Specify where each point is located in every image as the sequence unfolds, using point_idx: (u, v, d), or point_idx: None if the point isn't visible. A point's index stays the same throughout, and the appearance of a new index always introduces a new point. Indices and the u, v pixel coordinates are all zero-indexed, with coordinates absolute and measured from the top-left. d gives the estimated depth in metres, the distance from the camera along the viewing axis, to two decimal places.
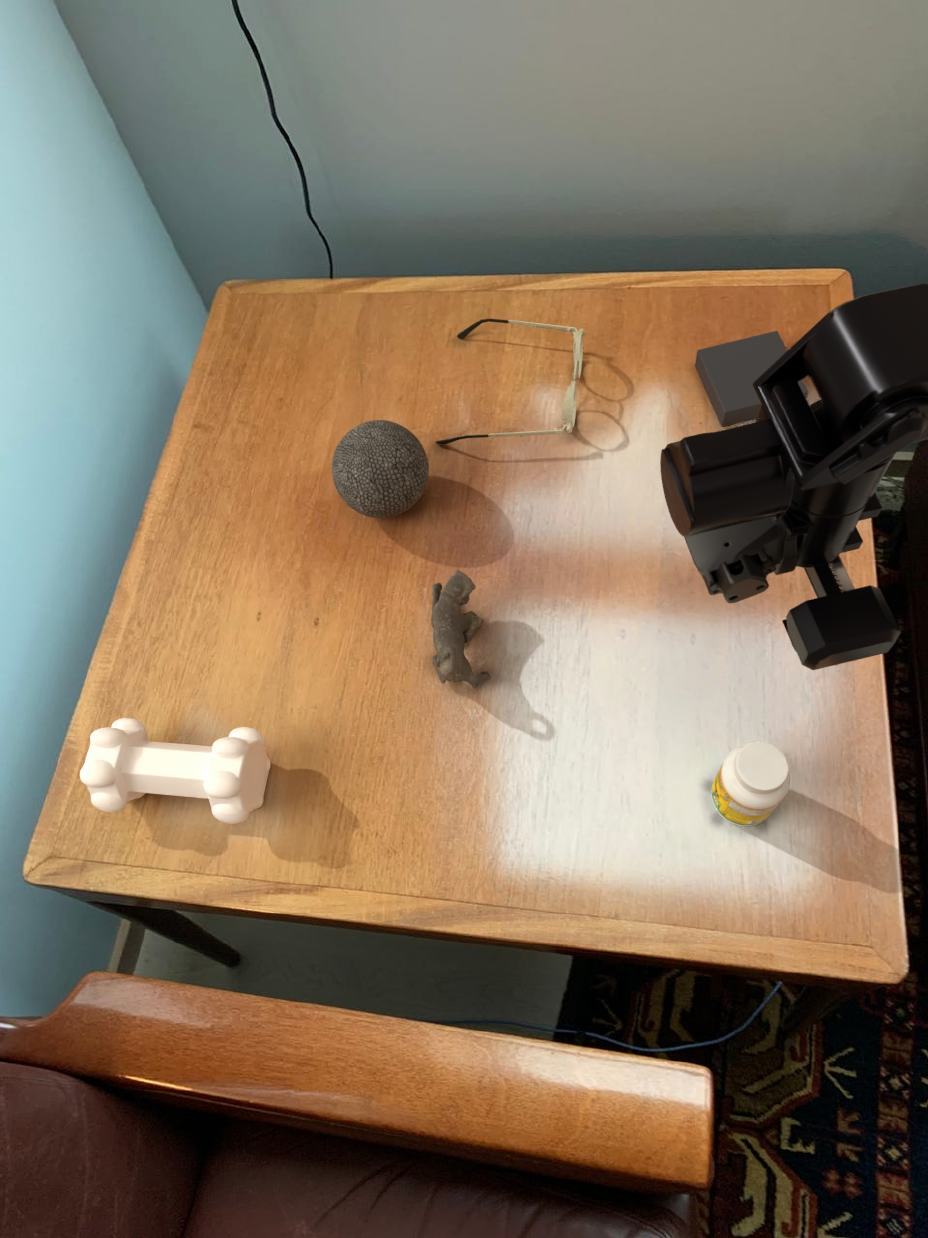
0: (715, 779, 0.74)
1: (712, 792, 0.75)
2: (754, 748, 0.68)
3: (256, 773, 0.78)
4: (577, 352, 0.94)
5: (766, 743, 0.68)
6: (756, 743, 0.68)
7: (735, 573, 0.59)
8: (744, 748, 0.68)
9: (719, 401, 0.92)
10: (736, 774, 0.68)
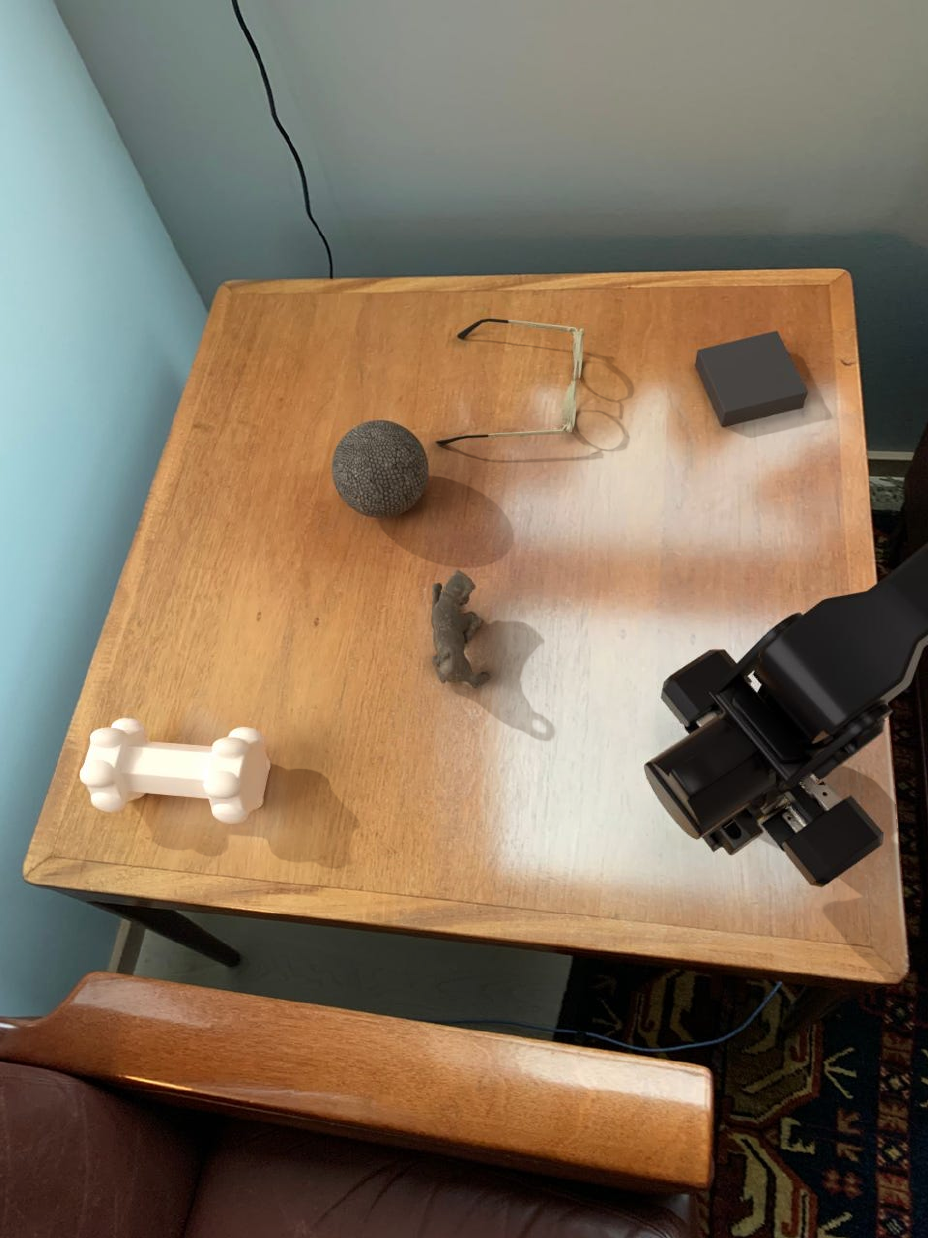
0: None
1: None
2: None
3: (256, 773, 0.78)
4: (577, 352, 0.94)
5: None
6: None
7: (727, 822, 0.63)
8: None
9: (719, 401, 0.92)
10: None
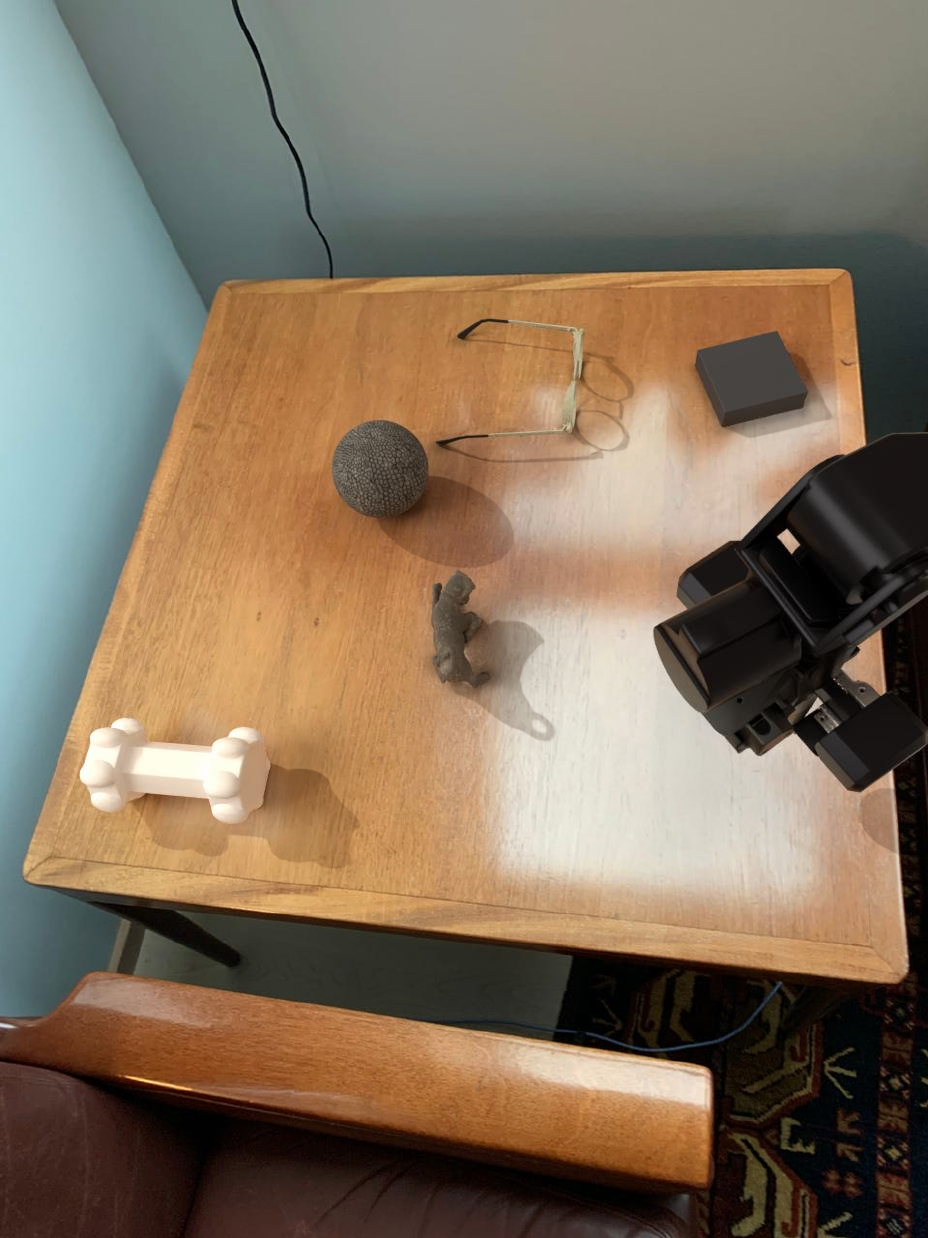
0: None
1: None
2: None
3: (256, 773, 0.78)
4: (577, 352, 0.94)
5: None
6: None
7: (753, 722, 0.56)
8: None
9: (719, 401, 0.92)
10: None
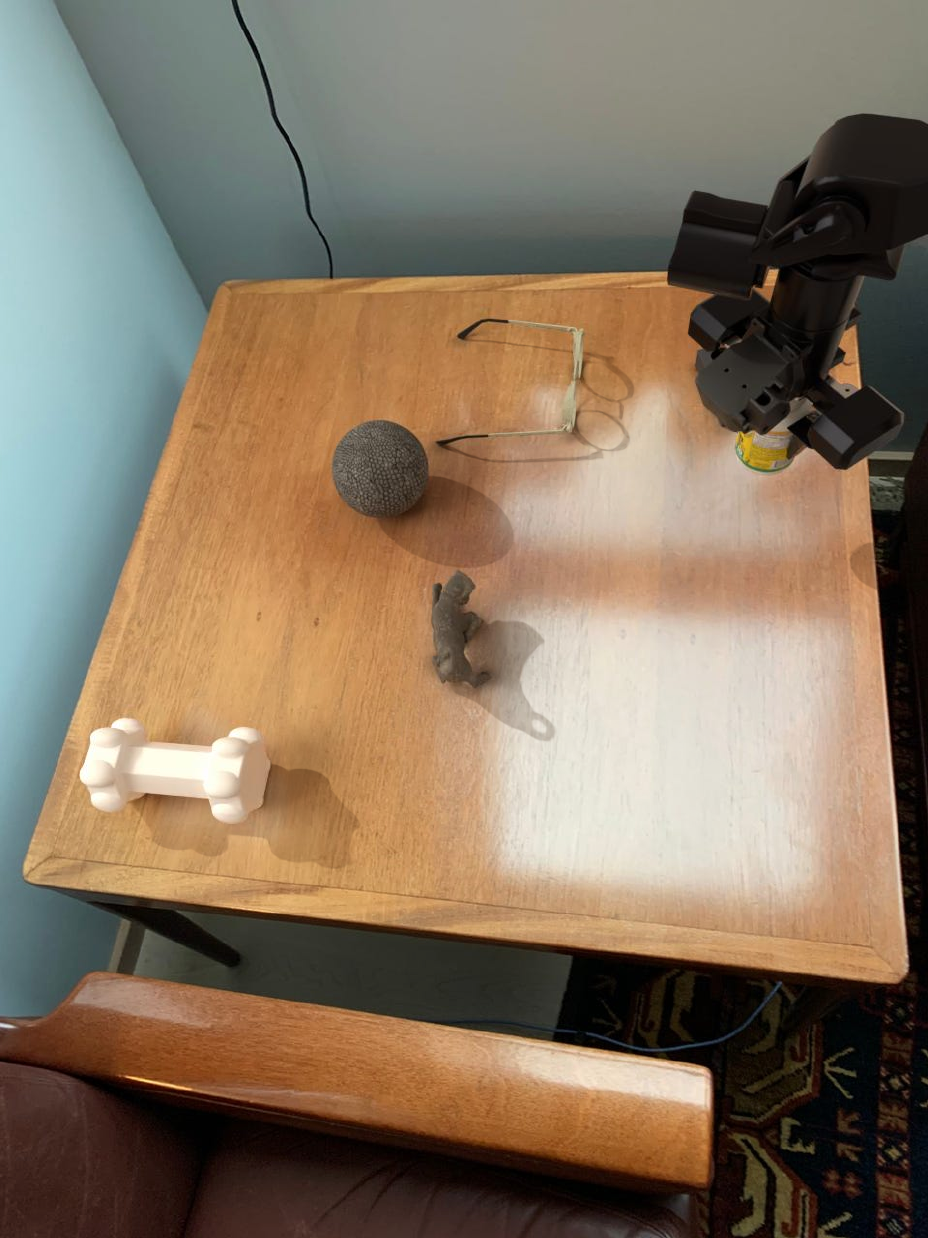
0: None
1: (736, 446, 0.79)
2: None
3: (256, 773, 0.78)
4: (577, 352, 0.94)
5: None
6: None
7: None
8: None
9: None
10: None
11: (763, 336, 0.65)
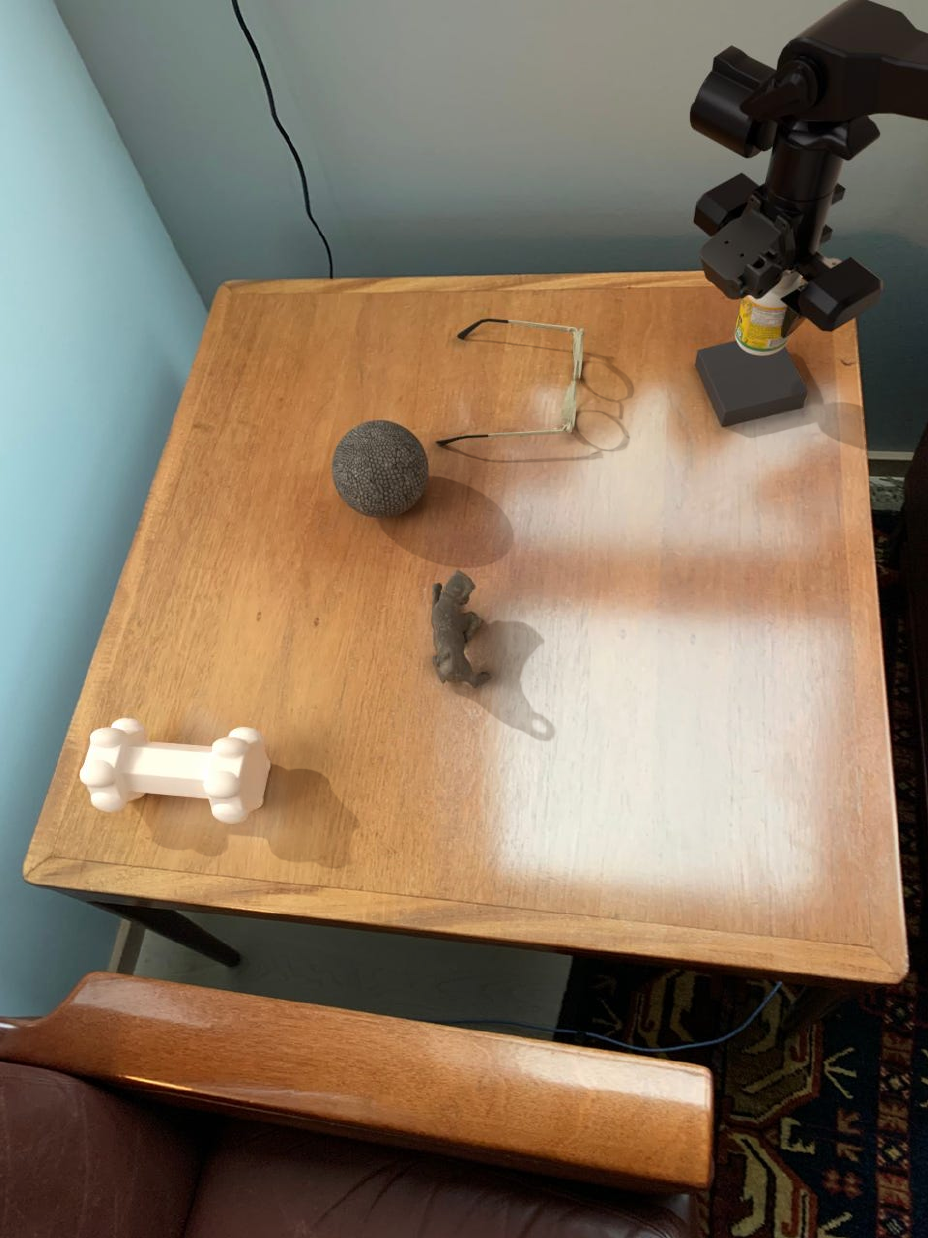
0: None
1: (735, 329, 0.87)
2: None
3: (256, 773, 0.78)
4: (577, 352, 0.94)
5: None
6: None
7: None
8: None
9: (719, 401, 0.92)
10: None
11: (759, 211, 0.74)
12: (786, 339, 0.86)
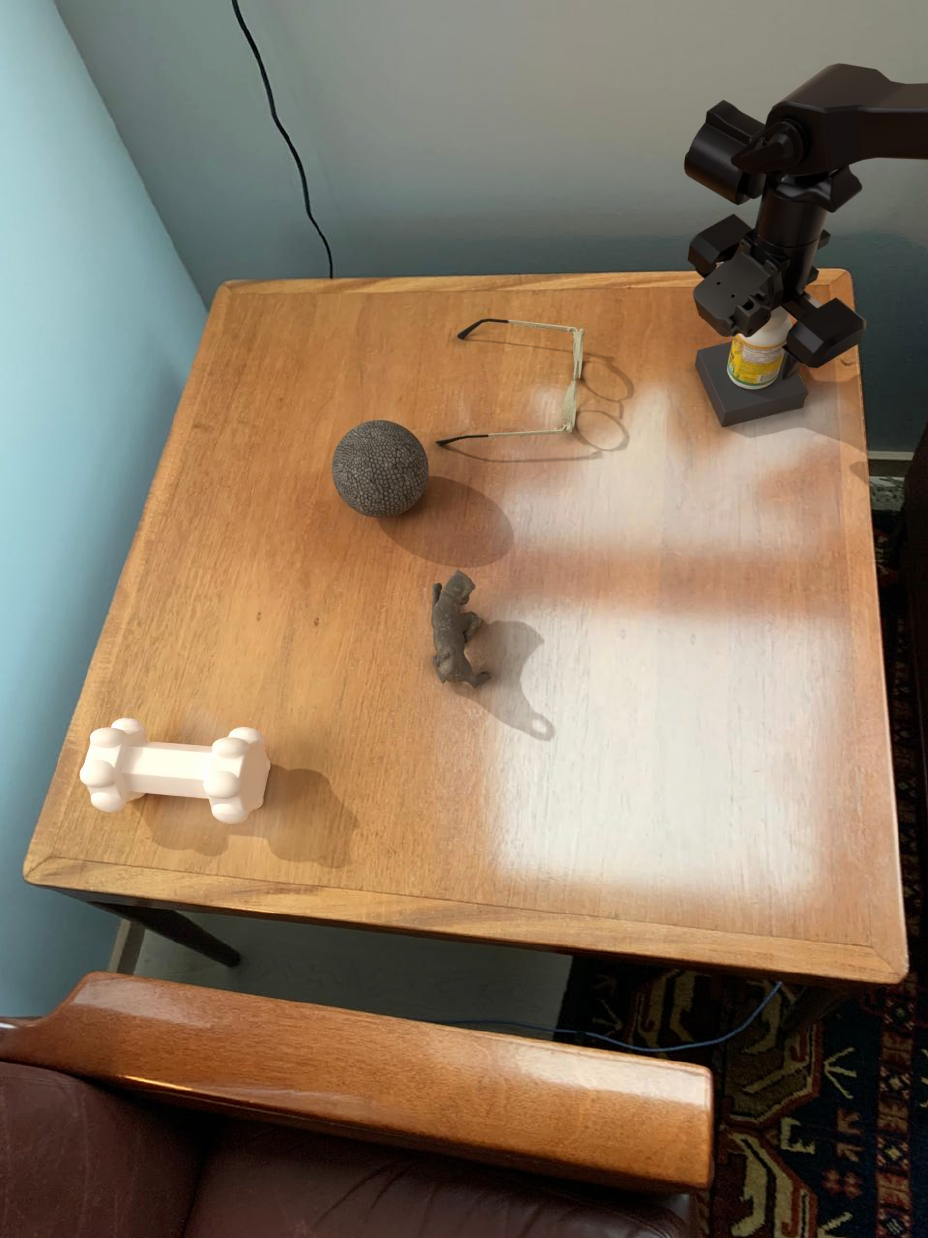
0: None
1: (728, 364, 0.92)
2: None
3: (256, 773, 0.78)
4: (577, 352, 0.94)
5: None
6: None
7: None
8: None
9: (719, 401, 0.92)
10: None
11: (749, 254, 0.78)
12: (776, 374, 0.90)
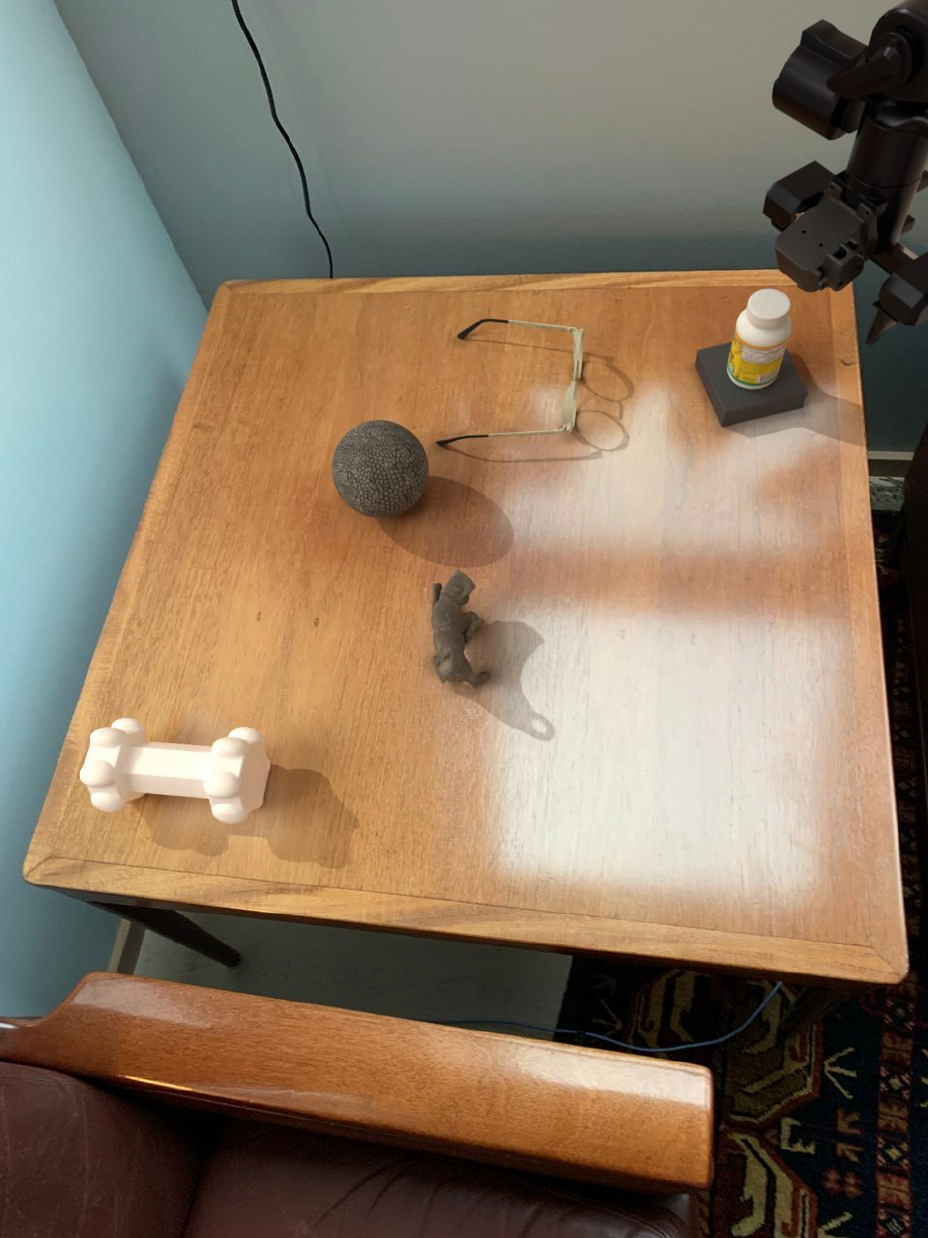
0: None
1: (728, 364, 0.92)
2: (763, 292, 0.85)
3: (256, 773, 0.78)
4: (577, 352, 0.94)
5: (772, 289, 0.85)
6: (764, 290, 0.85)
7: None
8: (754, 293, 0.85)
9: (719, 402, 0.92)
10: (748, 313, 0.85)
11: (839, 199, 0.70)
12: (775, 374, 0.91)
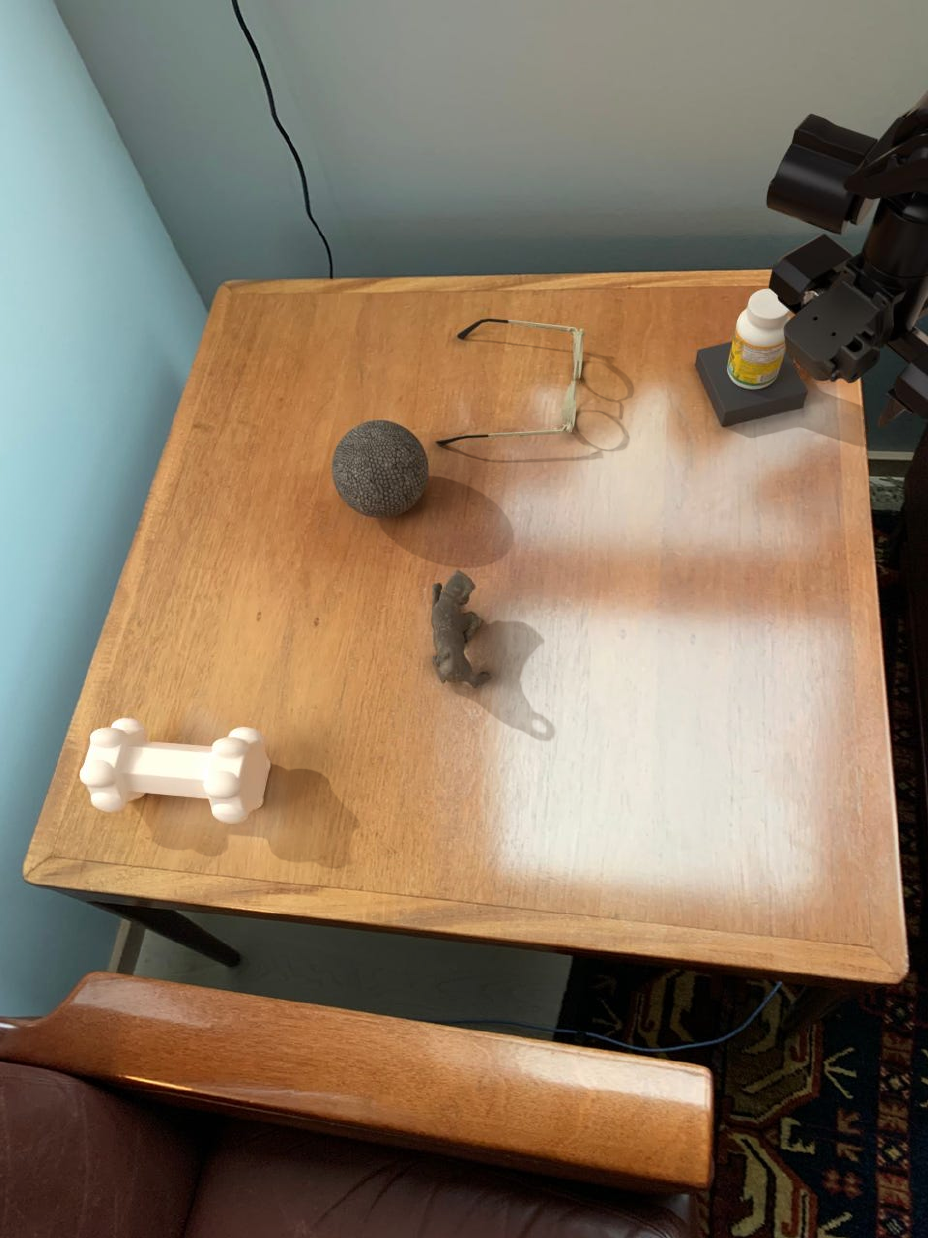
0: None
1: (728, 364, 0.92)
2: (763, 292, 0.85)
3: (256, 773, 0.78)
4: (577, 352, 0.94)
5: None
6: (765, 289, 0.85)
7: None
8: (755, 293, 0.85)
9: (719, 401, 0.92)
10: (748, 313, 0.85)
11: (853, 284, 0.66)
12: (776, 374, 0.91)
